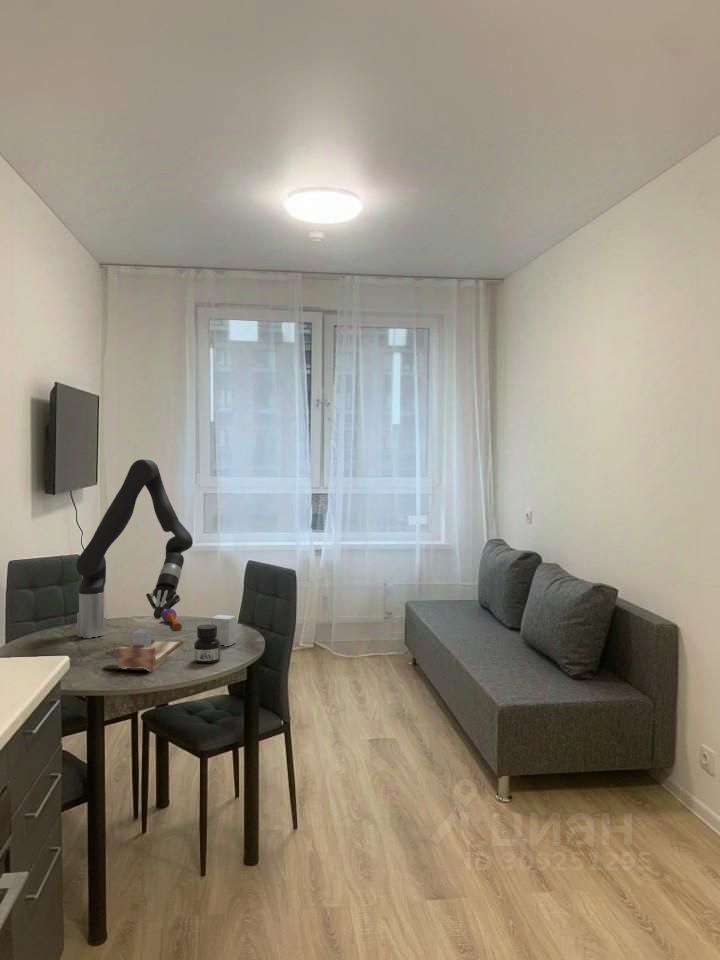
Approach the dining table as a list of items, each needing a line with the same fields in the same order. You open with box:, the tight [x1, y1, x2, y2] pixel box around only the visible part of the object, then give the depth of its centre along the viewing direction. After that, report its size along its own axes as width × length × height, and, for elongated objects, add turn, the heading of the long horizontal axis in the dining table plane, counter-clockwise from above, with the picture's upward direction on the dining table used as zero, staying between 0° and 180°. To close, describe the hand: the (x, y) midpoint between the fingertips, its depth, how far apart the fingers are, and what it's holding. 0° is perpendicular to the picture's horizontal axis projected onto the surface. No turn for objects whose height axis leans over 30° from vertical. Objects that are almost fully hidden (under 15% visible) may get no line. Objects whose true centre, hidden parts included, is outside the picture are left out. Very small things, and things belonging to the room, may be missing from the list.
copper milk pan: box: [117, 639, 185, 673], centre depth 253 cm, size 12×32×8 cm, turn 176°
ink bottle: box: [193, 623, 221, 665], centre depth 249 cm, size 10×9×12 cm
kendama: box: [161, 607, 183, 632], centre depth 301 cm, size 6×6×20 cm
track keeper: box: [132, 628, 152, 647], centre depth 242 cm, size 7×6×10 cm
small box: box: [210, 614, 237, 647], centre depth 271 cm, size 8×6×10 cm
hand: (157, 617), depth 257 cm, fingers closed
